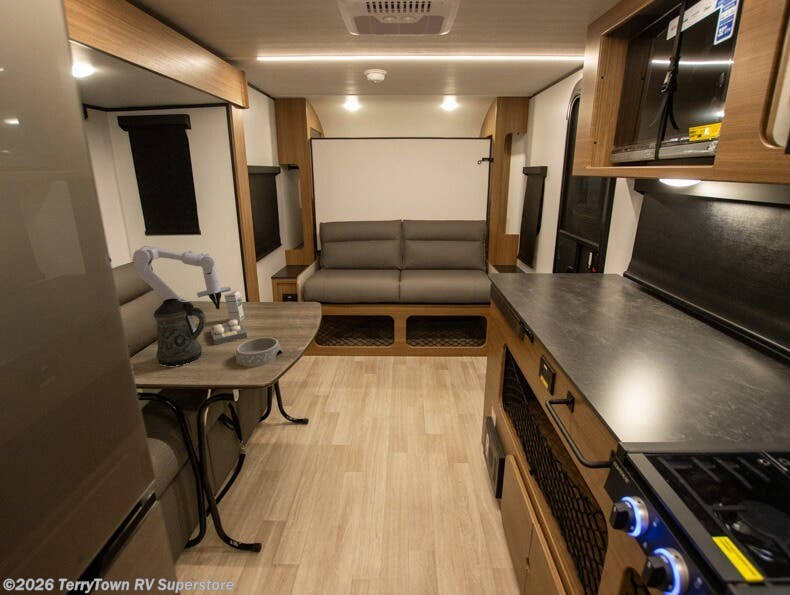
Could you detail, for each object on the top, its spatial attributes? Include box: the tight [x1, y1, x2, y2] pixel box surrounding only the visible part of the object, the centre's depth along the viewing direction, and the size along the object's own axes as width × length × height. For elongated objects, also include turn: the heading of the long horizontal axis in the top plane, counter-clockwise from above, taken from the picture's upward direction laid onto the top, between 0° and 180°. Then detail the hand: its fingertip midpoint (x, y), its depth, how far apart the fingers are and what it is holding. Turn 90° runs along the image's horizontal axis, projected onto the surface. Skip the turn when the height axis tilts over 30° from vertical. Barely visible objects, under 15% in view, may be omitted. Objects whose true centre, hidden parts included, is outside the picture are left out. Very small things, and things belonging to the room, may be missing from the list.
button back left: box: [212, 323, 222, 330], centre depth 190 cm, size 4×4×3 cm
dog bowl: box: [235, 336, 284, 368], centre depth 163 cm, size 17×18×5 cm
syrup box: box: [224, 290, 246, 322], centre depth 205 cm, size 6×6×14 cm
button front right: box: [231, 325, 241, 331], centre depth 188 cm, size 4×4×3 cm
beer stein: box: [153, 298, 207, 366], centre depth 163 cm, size 16×19×25 cm
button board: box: [209, 320, 248, 345], centre depth 188 cm, size 14×19×3 cm
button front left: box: [214, 327, 225, 335], centre depth 184 cm, size 4×4×3 cm
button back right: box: [227, 319, 238, 327], centre depth 193 cm, size 4×4×3 cm
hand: (217, 308), depth 192 cm, fingers closed
